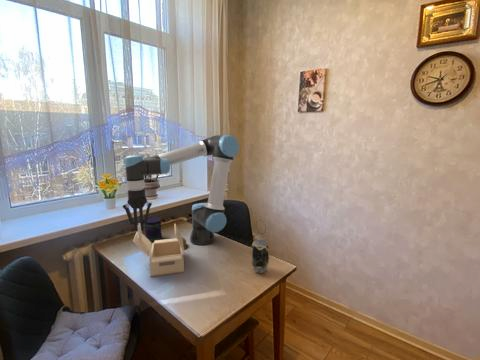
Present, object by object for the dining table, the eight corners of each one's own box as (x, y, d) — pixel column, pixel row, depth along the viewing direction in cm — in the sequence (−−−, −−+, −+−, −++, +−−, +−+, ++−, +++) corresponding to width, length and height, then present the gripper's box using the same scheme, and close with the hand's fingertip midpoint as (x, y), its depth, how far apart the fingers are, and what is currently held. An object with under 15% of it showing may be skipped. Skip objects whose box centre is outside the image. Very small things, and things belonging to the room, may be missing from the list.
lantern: (248, 268, 122) (248, 219, 118) (260, 263, 126) (261, 215, 122) (260, 275, 115) (260, 223, 111) (272, 270, 120) (273, 220, 116)
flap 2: (174, 234, 115) (175, 233, 115) (174, 223, 130) (175, 223, 130) (183, 252, 117) (184, 251, 118) (181, 239, 132) (182, 239, 132)
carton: (181, 252, 138) (181, 237, 137) (184, 276, 115) (183, 257, 113) (153, 256, 134) (152, 240, 133) (150, 280, 111) (148, 262, 109)
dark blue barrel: (165, 242, 153) (164, 218, 151) (152, 247, 145) (151, 223, 142) (155, 238, 158) (153, 216, 156) (141, 244, 150) (140, 220, 148)
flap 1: (138, 229, 125) (137, 229, 125) (133, 240, 111) (132, 241, 111) (151, 242, 128) (150, 243, 128) (149, 255, 113) (148, 256, 113)
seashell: (183, 256, 143) (192, 245, 147) (181, 251, 137) (190, 239, 141) (170, 248, 146) (179, 237, 150) (167, 243, 140) (177, 232, 145)
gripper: (151, 186, 120) (155, 233, 124) (122, 188, 117) (127, 236, 120) (150, 189, 113) (154, 238, 117) (119, 191, 110) (124, 242, 113)
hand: (140, 237), depth 119 cm, fingers closed
